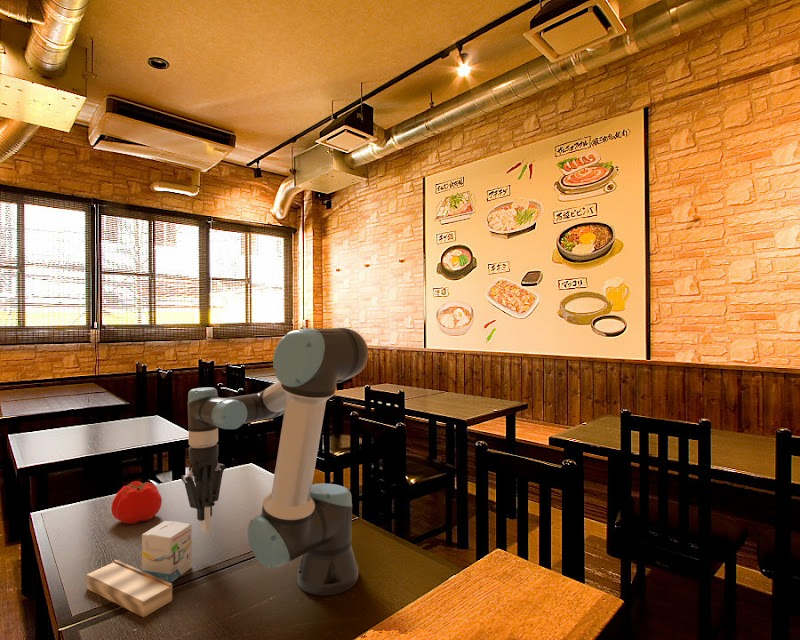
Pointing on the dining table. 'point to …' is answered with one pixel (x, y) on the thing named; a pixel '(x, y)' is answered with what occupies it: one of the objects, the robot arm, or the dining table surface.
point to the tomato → (136, 502)
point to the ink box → (167, 550)
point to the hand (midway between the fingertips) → (205, 530)
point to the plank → (130, 587)
